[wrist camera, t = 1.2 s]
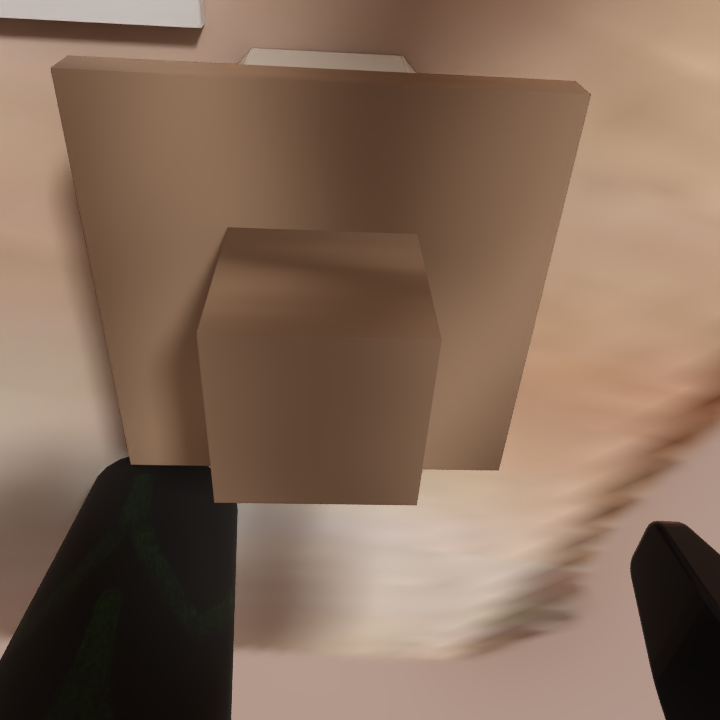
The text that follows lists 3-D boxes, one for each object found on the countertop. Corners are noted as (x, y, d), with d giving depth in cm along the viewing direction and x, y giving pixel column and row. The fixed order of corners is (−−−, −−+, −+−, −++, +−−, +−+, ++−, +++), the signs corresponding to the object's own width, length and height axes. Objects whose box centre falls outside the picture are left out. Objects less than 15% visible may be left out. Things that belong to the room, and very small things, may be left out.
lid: (139, 438, 19) (86, 594, 15) (68, 55, 13) (-53, 138, 9) (491, 445, 19) (533, 596, 15) (575, 81, 14) (678, 169, 10)
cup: (22, 499, 26) (-165, 877, 16) (151, 397, 23) (19, 778, 13) (177, 589, 29) (99, 942, 20) (304, 509, 27) (288, 874, 17)
